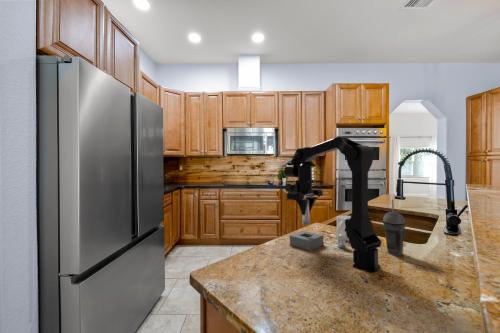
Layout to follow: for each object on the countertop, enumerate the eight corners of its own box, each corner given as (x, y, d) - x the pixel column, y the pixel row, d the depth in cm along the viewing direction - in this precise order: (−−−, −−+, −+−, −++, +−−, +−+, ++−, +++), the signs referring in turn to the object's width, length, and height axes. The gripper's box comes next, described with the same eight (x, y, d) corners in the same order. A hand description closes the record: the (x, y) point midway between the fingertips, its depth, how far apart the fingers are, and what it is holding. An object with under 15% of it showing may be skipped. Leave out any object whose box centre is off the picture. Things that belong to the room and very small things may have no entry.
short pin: (347, 247, 93) (346, 235, 93) (343, 249, 91) (343, 236, 91) (339, 245, 95) (339, 233, 95) (336, 247, 93) (336, 235, 93)
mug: (346, 234, 111) (345, 214, 111) (363, 239, 103) (362, 218, 103) (328, 238, 105) (327, 217, 105) (344, 243, 97) (343, 221, 97)
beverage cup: (385, 255, 83) (383, 200, 83) (382, 249, 90) (380, 198, 90) (408, 258, 80) (407, 201, 81) (403, 251, 87) (402, 198, 87)
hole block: (323, 244, 97) (323, 235, 97) (310, 250, 90) (310, 240, 90) (303, 239, 104) (303, 230, 104) (289, 244, 97) (289, 235, 97)
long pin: (311, 223, 97) (310, 200, 97) (307, 225, 95) (306, 200, 95) (305, 222, 99) (304, 199, 99) (301, 223, 97) (300, 200, 97)
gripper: (301, 176, 109) (302, 209, 109) (276, 178, 97) (277, 215, 97) (322, 176, 101) (323, 212, 101) (297, 178, 88) (299, 219, 88)
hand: (305, 214), depth 97 cm, fingers closed on long pin, 3 cm apart
